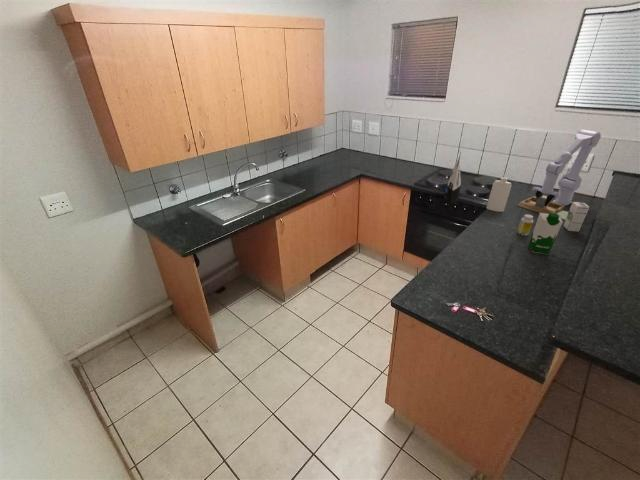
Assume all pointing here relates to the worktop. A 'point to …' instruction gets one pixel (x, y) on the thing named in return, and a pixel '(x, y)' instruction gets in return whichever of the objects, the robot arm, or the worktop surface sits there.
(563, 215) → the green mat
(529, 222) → the supplement bottle
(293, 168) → the worktop surface
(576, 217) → the syrup box
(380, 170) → the worktop surface
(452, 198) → the model sailboat
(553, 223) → the milk carton
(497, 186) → the squeeze bottle
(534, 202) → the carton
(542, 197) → the box
